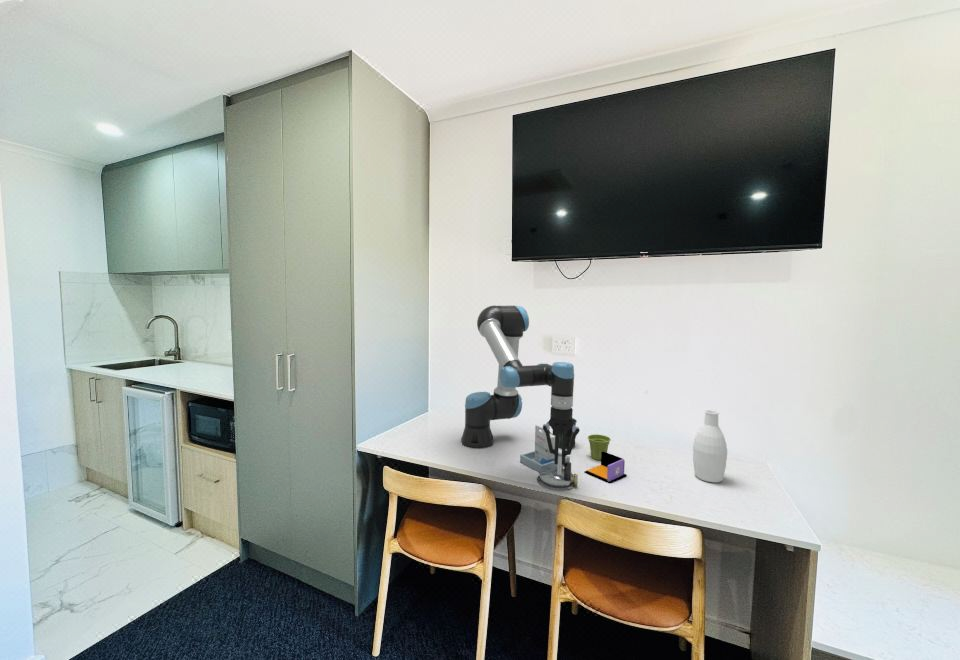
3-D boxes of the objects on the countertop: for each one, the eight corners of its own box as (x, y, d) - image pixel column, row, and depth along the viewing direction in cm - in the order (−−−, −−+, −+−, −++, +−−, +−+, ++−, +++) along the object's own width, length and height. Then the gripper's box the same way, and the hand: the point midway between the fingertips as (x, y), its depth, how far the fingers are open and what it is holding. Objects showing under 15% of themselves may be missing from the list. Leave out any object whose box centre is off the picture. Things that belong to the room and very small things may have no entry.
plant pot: (583, 457, 158) (583, 438, 158) (593, 451, 165) (593, 432, 165) (604, 464, 152) (604, 443, 151) (613, 457, 159) (614, 437, 158)
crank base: (529, 480, 137) (529, 467, 137) (555, 471, 145) (555, 458, 145) (557, 497, 125) (558, 482, 125) (584, 486, 133) (585, 472, 133)
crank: (532, 477, 137) (533, 456, 136) (555, 469, 144) (555, 449, 143) (558, 491, 127) (558, 468, 126) (580, 481, 134) (581, 460, 133)
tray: (520, 463, 152) (520, 454, 152) (547, 454, 161) (547, 447, 161) (541, 474, 142) (541, 466, 142) (569, 465, 151) (569, 456, 151)
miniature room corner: (628, 476, 142) (628, 459, 141) (609, 485, 135) (610, 467, 134) (601, 465, 151) (601, 449, 151) (582, 473, 144) (583, 456, 144)
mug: (571, 451, 165) (572, 425, 165) (541, 444, 173) (541, 419, 173) (579, 443, 174) (579, 418, 174) (550, 437, 182) (550, 413, 182)
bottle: (685, 470, 147) (688, 407, 146) (714, 471, 147) (717, 408, 145) (701, 483, 136) (705, 415, 134) (732, 484, 136) (736, 416, 134)
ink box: (556, 465, 149) (557, 429, 148) (546, 467, 147) (547, 430, 146) (543, 457, 156) (544, 423, 155) (534, 459, 154) (534, 424, 153)
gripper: (542, 408, 127) (540, 475, 128) (581, 410, 125) (578, 479, 126) (543, 403, 135) (541, 467, 135) (579, 405, 132) (577, 470, 133)
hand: (559, 473), depth 131 cm, fingers closed
